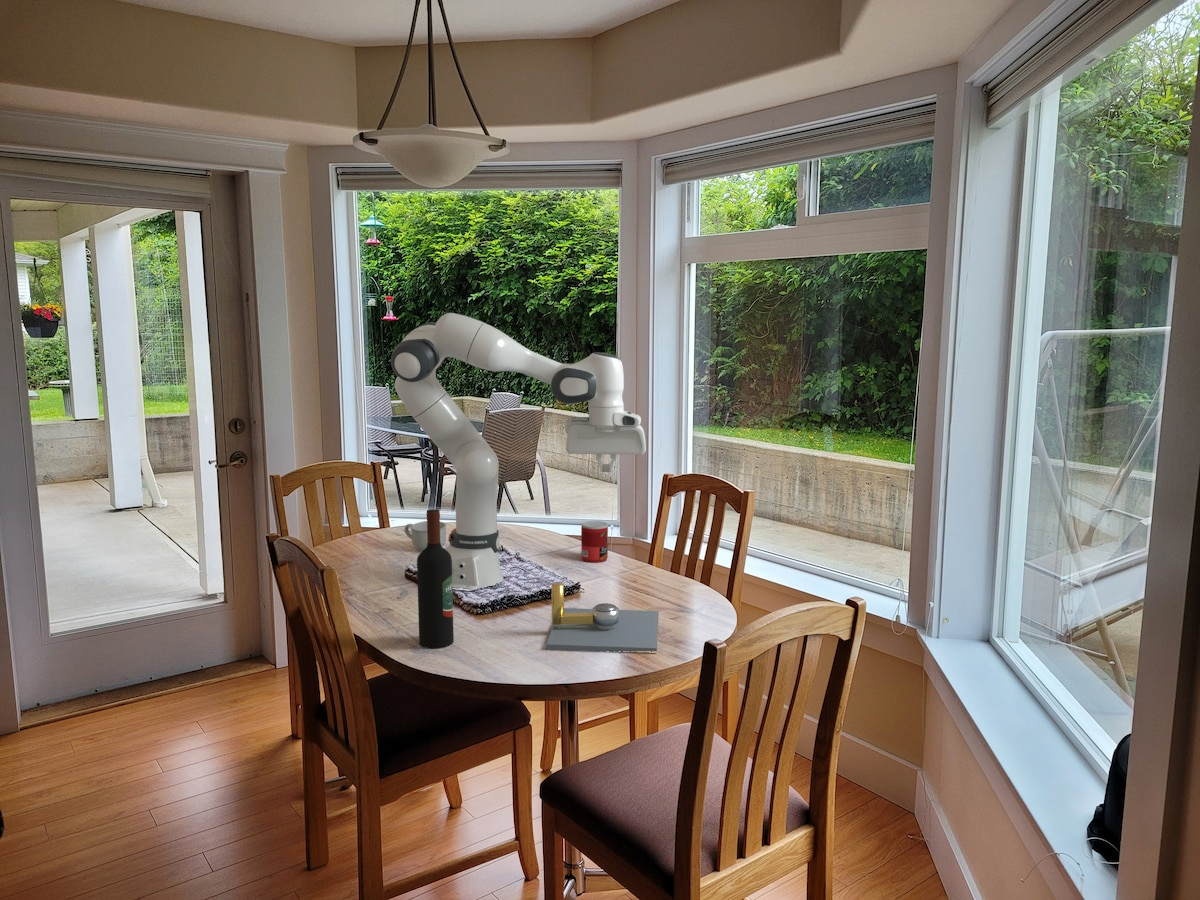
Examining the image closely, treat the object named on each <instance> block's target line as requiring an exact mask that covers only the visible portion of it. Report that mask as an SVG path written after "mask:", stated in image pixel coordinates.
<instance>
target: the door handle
mask: <svg viewBox="0 0 1200 900" xmlns="http://www.w3.org/2000/svg"><path fill="white" fill-rule="evenodd" d="M564 585H565V584H564V583H562V582H554V583H551V624H552V625H554V624H555V625H560V624H593V623H594V624H596V625H600V626H611V625H615V624H617V623H618V622H619V610H620V609H619V607H618V606H616V605H615V604H614V603H608V602H607V603H598V604H596V605H594V606H593V607H592V609H593V614H592V612H590V613H564V608H565V601H564V600H565V597H564V596H565V586H564Z"/></svg>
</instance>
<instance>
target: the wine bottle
mask: <svg viewBox="0 0 1200 900" xmlns="http://www.w3.org/2000/svg"><path fill="white" fill-rule="evenodd" d="M440 519H441V513H440V509H435V508H433V509H428V510H426V521H427V539H428V543H427V547H426V548H425V549H424V550H423V551H420V553H419V554H418V555H417V558H416V570H417V571H416V573H417V574H416V575H417V576H416V578H417V580H416V581H417V605H418V606H417V609H418V639H419V641H418V644H419V646H420V647H421V648H422V647H423V648H424V649H433V650H434V649H442V648H447V647H449V646H451V645H452V644H453V643H454V640H455V639H454V638H455V637H454V602H453V601H454V593H453V591H454V590H452V559H451V555H450V554H449V552H448V551H447V550H445V548H444V547H443V546H441V543H440V522H441V520H440Z"/></svg>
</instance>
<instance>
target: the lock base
mask: <svg viewBox="0 0 1200 900" xmlns="http://www.w3.org/2000/svg"><path fill="white" fill-rule="evenodd" d="M590 612H592V614H593V608H573V607H564V613H590ZM659 616H660V615H659V610H642V609H641V610H638V609H636V610H635V609H634V610H633V609H619V622H618V623H617V624H615V625H611V626H600V625H596V624H594V623H593V624H560V625H555V624H553V627H552V629H551V632H550V634H549V636H548V639H547V642H546V648H545V649H546V650H550V651H573V652H574V651H577V652H578V651H580V652H600V651H603V652H602V653H605V652H606V651H609V652H608V653H619V652H618V651H621V652H620V653H624V652H623V651H630V652H631V651H651V652H652V651H657V650H658V636H657V634H658V632H659ZM614 651H615V652H614ZM657 652H658V651H657ZM606 653H607V652H606Z"/></svg>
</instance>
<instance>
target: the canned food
mask: <svg viewBox="0 0 1200 900" xmlns="http://www.w3.org/2000/svg"><path fill="white" fill-rule="evenodd" d="M580 530H581V531H580V532H581V539H580V540H581V541H580V542H581V546H580V547H581V551H580V552H581V553H580V554H581V559H582V561H583V562H585V563H592V564H597V563H598V564H599V563H604V562H606V561H607V560H608V556H609V555H608V554H609V552H608V551H609V548H608V547H609V546H608V545H609V541H608V539H609V538H608V536H609V525H608V523H607V522H604V521H601V520H600V521H597V520H590V521H584V522H582V523H581V527H580Z"/></svg>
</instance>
